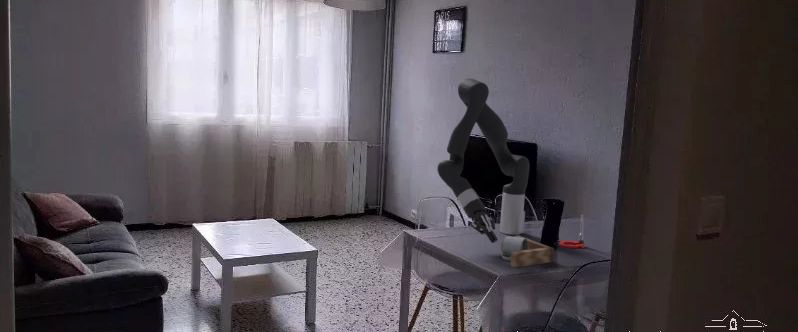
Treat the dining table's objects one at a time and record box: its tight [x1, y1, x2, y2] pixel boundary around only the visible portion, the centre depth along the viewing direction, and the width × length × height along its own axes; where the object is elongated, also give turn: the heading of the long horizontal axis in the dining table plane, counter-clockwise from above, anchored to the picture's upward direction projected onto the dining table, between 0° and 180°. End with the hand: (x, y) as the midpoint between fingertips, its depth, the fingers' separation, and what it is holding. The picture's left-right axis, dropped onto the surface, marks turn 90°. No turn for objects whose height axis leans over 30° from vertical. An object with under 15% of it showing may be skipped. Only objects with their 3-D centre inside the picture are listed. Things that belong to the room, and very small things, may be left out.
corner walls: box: [510, 235, 555, 268], centre depth 221 cm, size 18×19×5 cm
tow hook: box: [559, 214, 586, 249], centre depth 242 cm, size 8×13×9 cm
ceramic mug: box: [500, 235, 528, 262], centre depth 220 cm, size 11×8×8 cm
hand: (495, 241), depth 224 cm, fingers closed
